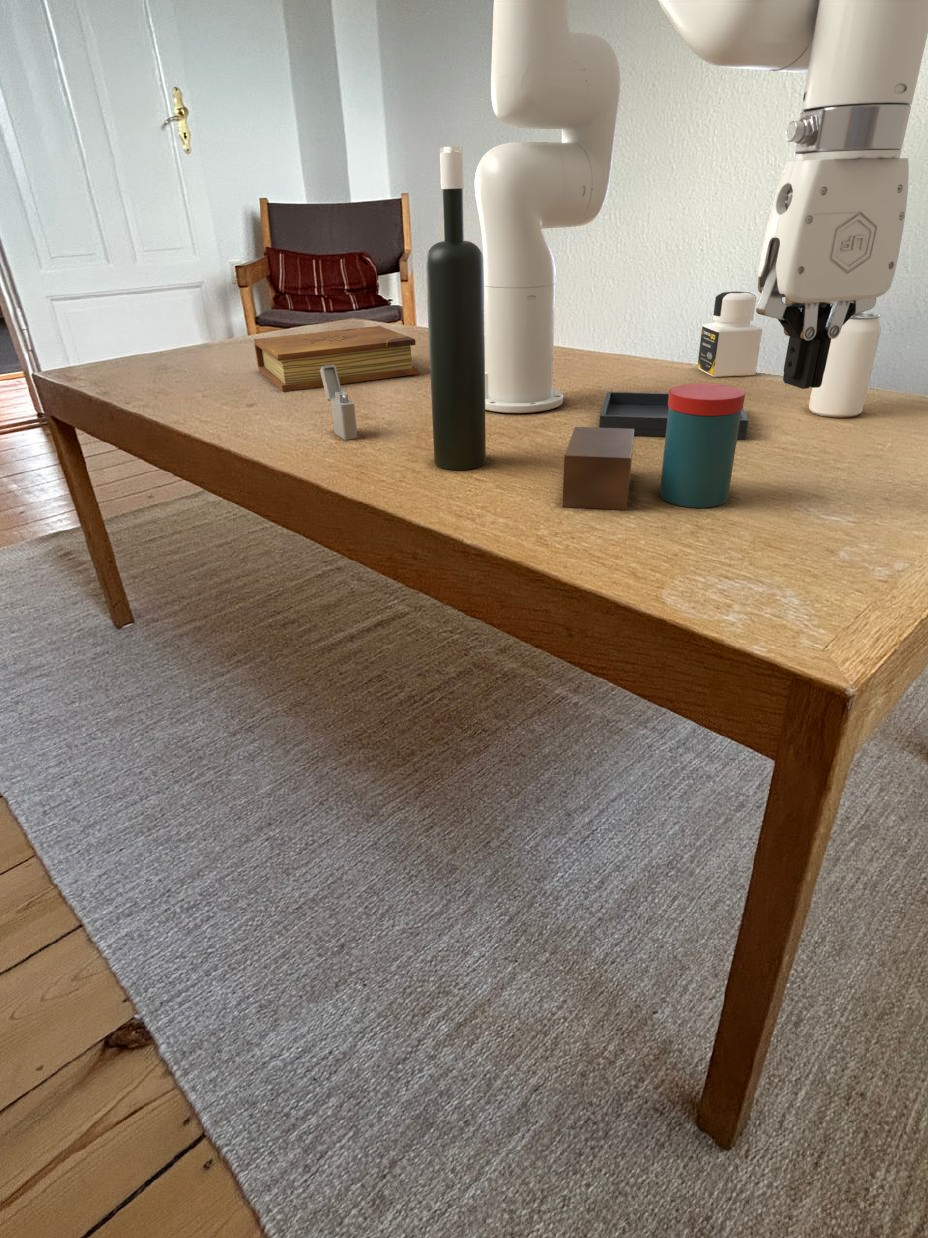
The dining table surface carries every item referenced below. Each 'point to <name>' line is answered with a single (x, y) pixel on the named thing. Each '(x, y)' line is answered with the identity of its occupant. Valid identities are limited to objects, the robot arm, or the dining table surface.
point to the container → (700, 444)
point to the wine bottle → (456, 330)
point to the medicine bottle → (730, 337)
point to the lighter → (339, 404)
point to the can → (848, 368)
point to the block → (598, 468)
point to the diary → (334, 356)
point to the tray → (644, 413)
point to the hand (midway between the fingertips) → (801, 384)
